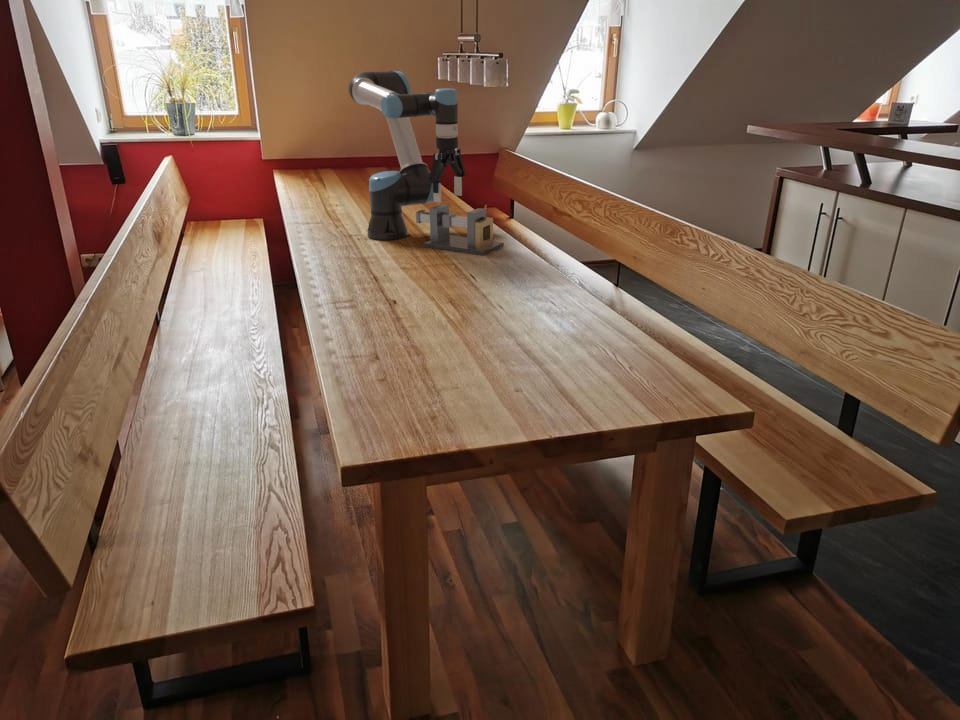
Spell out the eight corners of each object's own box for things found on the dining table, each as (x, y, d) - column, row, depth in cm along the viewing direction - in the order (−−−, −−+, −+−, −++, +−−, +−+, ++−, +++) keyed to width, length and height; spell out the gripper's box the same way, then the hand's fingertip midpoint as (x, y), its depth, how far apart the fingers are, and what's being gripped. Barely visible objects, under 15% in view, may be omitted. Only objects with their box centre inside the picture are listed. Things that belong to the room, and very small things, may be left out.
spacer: (475, 248, 262) (475, 222, 258) (488, 242, 269) (487, 217, 265) (480, 248, 261) (480, 222, 257) (492, 243, 268) (492, 217, 265)
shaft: (415, 223, 274) (415, 211, 272) (422, 221, 277) (422, 209, 276) (472, 230, 263) (472, 218, 261) (478, 228, 266) (478, 215, 264)
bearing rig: (423, 246, 270) (422, 209, 264) (444, 238, 281) (443, 202, 276) (484, 255, 258) (484, 216, 253) (503, 246, 269) (503, 208, 264)
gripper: (436, 141, 246) (437, 206, 255) (474, 133, 266) (475, 193, 274) (417, 140, 249) (419, 203, 258) (456, 131, 269) (457, 191, 278)
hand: (448, 198), depth 266 cm, fingers open, 13 cm apart
